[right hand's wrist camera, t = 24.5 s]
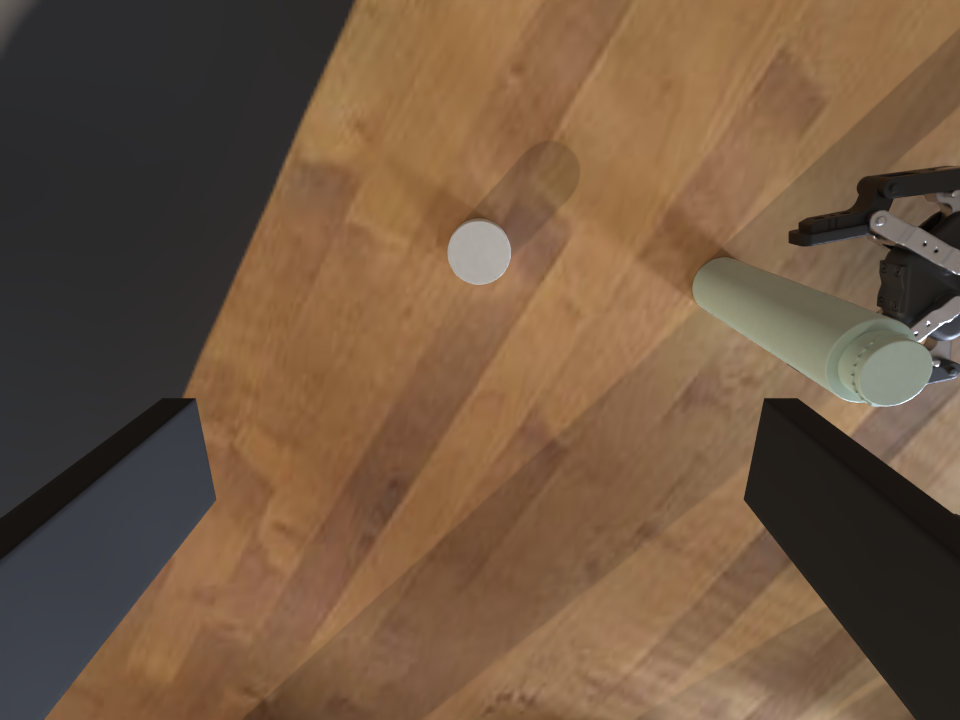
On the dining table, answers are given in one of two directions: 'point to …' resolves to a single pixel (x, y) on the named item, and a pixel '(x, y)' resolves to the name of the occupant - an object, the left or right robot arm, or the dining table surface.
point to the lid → (479, 251)
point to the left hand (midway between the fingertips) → (793, 304)
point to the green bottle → (817, 333)
